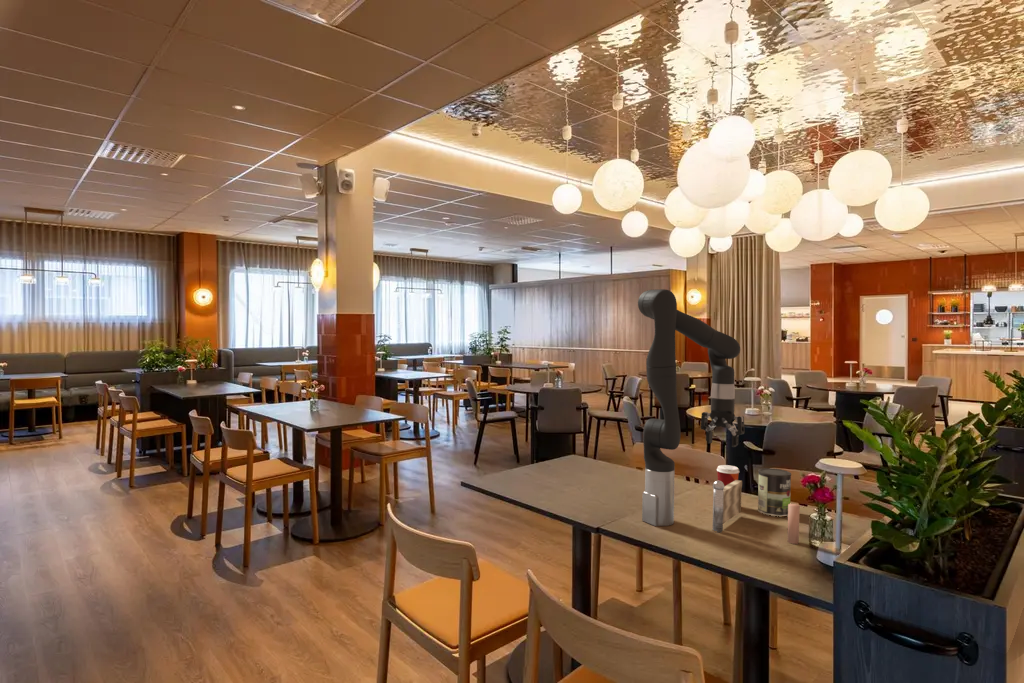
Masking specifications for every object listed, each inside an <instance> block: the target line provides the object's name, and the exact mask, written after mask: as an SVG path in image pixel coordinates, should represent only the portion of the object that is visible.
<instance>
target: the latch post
mask: <svg viewBox="0 0 1024 683" xmlns="http://www.w3.org/2000/svg"><path fill="white" fill-rule="evenodd" d="M800 513H801V512H800V504H797V503H790V504H788V516H787V543H789V544H791V543H792V544H793V545H799V544H798V543H800Z"/></svg>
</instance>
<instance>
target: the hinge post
mask: <svg viewBox="0 0 1024 683" xmlns="http://www.w3.org/2000/svg"><path fill="white" fill-rule="evenodd" d="M712 492H713V493H712V531H713V530H714V531H717V532H716V533H719V532H720V533H723V532H722V531H724V524H723V494H724V484H723V482H721V481H719V480H718V479H717V480H715V481H714V482H713V483H712ZM714 531H713V532H714Z"/></svg>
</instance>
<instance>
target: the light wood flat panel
mask: <svg viewBox="0 0 1024 683" xmlns="http://www.w3.org/2000/svg"><path fill="white" fill-rule="evenodd" d="M742 488H743V480H739V479H738V480H735V481H733V482H731V483H730V484H728V485H726V486H724V494H723V525H724V524H725V523H727V522H729V520H731V519H732V518H734V517H736V515H738V514H740V513H741V512H742Z"/></svg>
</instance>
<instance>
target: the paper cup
mask: <svg viewBox="0 0 1024 683" xmlns="http://www.w3.org/2000/svg"><path fill="white" fill-rule="evenodd" d="M716 472H717V480H719V481H721V482H723V484H724V486H726V485H728V484H730V483H731V482H733V481H735V480H739V473H740V469H739V468H738V467H737V466H735V465H728V464H721V465H718V466H717V468H716Z"/></svg>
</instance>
